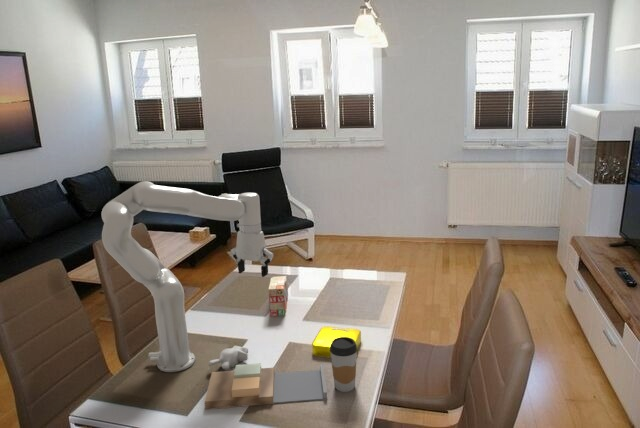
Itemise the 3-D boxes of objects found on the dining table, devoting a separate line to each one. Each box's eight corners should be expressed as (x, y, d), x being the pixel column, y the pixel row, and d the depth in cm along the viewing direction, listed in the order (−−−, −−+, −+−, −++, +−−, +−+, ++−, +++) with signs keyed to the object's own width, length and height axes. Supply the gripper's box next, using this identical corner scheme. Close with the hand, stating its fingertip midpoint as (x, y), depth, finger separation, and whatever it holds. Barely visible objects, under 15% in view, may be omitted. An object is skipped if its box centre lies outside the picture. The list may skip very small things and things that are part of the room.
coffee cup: (356, 378, 165) (355, 335, 161) (359, 393, 157) (358, 348, 153) (330, 379, 165) (328, 336, 161) (332, 395, 157) (330, 350, 153)
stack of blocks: (274, 295, 232) (272, 270, 229) (288, 295, 232) (286, 269, 229) (270, 316, 212) (268, 288, 208) (285, 316, 211) (283, 288, 208)
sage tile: (234, 382, 161) (234, 375, 161) (236, 371, 167) (235, 365, 166) (260, 380, 162) (260, 373, 161) (261, 370, 168) (260, 363, 167)
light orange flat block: (232, 397, 154) (231, 390, 153) (234, 386, 159) (233, 378, 159) (259, 395, 154) (258, 387, 153) (260, 383, 160) (259, 376, 159)
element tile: (362, 339, 190) (361, 327, 189) (353, 360, 176) (353, 348, 175) (322, 336, 194) (322, 324, 193) (311, 356, 180) (310, 343, 179)
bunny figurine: (254, 345, 181) (227, 361, 167) (254, 359, 181) (228, 376, 168) (232, 340, 185) (204, 355, 172) (232, 354, 186) (205, 370, 172)
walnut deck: (205, 409, 153) (204, 401, 152) (212, 379, 168) (211, 372, 168) (273, 403, 154) (272, 396, 153) (274, 374, 169) (273, 367, 169)
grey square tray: (273, 403, 154) (272, 396, 153) (274, 374, 169) (273, 367, 169) (327, 399, 155) (326, 392, 154) (323, 370, 170) (322, 364, 170)
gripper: (223, 228, 183) (227, 274, 187) (266, 233, 176) (268, 280, 180) (235, 223, 189) (238, 267, 193) (277, 227, 182) (279, 273, 186)
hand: (253, 273), depth 187 cm, fingers open, 9 cm apart
